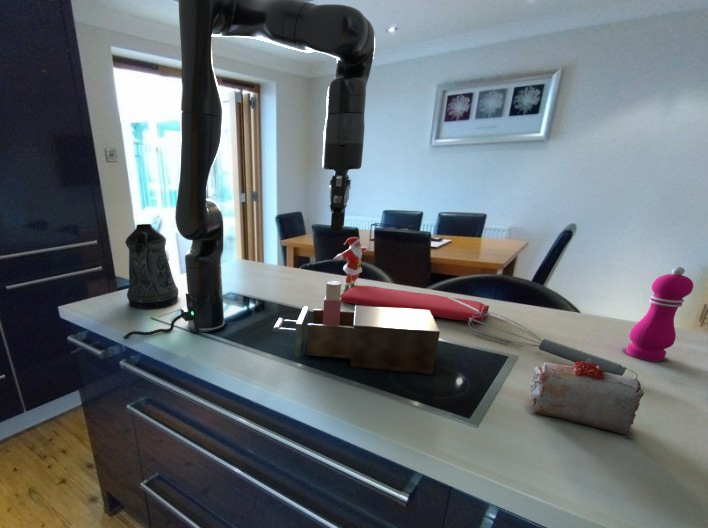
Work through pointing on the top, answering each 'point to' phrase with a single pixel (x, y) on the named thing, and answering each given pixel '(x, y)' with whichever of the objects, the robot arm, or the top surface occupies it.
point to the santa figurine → (352, 261)
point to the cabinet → (394, 339)
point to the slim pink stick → (332, 303)
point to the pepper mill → (660, 317)
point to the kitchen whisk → (562, 350)
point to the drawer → (322, 334)
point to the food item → (586, 395)
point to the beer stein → (149, 270)
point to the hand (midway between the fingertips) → (337, 229)
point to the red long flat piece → (416, 302)
